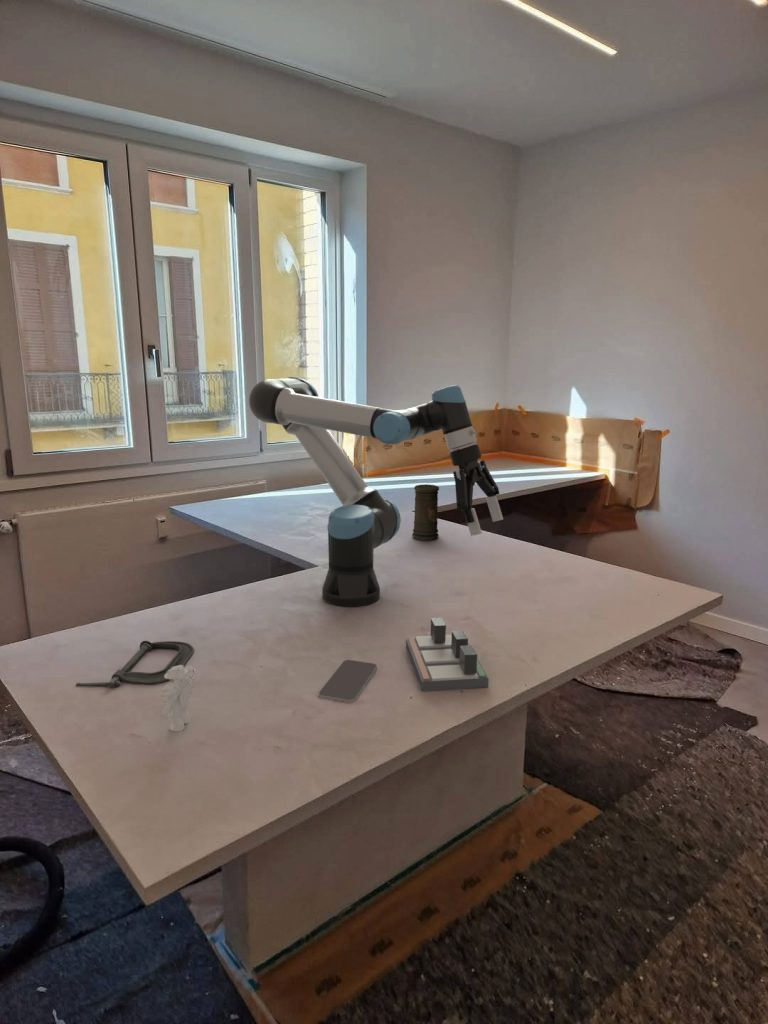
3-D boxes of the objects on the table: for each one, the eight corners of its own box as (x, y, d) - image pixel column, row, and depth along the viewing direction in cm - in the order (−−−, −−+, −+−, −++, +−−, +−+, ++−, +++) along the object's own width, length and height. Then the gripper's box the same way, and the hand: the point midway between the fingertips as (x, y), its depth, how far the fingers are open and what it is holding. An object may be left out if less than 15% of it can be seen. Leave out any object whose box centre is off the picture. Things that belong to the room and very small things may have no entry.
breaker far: (434, 643, 138) (434, 625, 137) (430, 635, 142) (430, 618, 141) (445, 642, 139) (445, 625, 138) (441, 634, 143) (441, 617, 142)
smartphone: (316, 694, 122) (344, 658, 136) (316, 699, 122) (344, 663, 136) (353, 701, 120) (378, 664, 134) (353, 705, 120) (378, 668, 134)
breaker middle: (455, 657, 132) (456, 639, 131) (451, 648, 136) (451, 631, 135) (467, 656, 132) (468, 638, 131) (462, 648, 136) (463, 630, 135)
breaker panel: (421, 691, 124) (422, 679, 124) (405, 647, 143) (406, 636, 142) (488, 687, 126) (488, 675, 125) (463, 644, 144) (464, 633, 144)
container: (408, 539, 224) (409, 487, 220) (417, 532, 232) (418, 483, 228) (433, 542, 221) (435, 490, 217) (441, 535, 229) (443, 485, 225)
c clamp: (159, 696, 123) (158, 683, 122) (75, 688, 125) (74, 675, 125) (205, 649, 142) (204, 638, 141) (131, 643, 145) (130, 632, 144)
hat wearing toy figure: (178, 740, 108) (172, 674, 105) (156, 737, 109) (150, 672, 106) (203, 712, 117) (199, 650, 114) (183, 709, 117) (178, 648, 114)
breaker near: (464, 674, 125) (464, 655, 124) (459, 664, 129) (459, 645, 128) (476, 673, 126) (477, 654, 125) (471, 663, 129) (471, 645, 128)
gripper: (453, 451, 151) (480, 538, 153) (495, 435, 172) (518, 512, 174) (427, 459, 156) (453, 543, 158) (471, 443, 176) (493, 517, 178)
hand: (487, 527), depth 166 cm, fingers open, 13 cm apart
